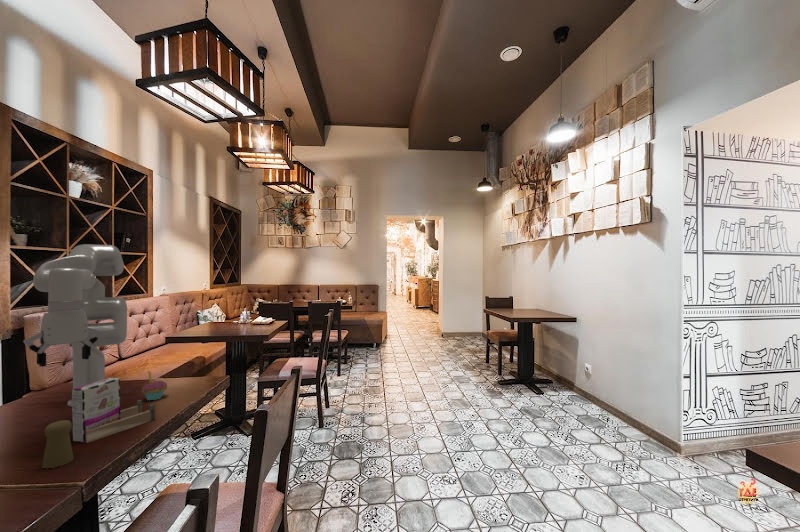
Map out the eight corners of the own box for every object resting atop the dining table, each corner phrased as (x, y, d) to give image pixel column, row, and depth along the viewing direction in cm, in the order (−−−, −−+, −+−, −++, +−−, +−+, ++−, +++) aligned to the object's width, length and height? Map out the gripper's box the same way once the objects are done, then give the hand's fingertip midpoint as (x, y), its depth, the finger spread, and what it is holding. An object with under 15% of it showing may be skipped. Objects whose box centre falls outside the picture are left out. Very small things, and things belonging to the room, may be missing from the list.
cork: (56, 457, 92) (57, 418, 93) (79, 455, 93) (80, 416, 93) (34, 470, 86) (35, 428, 87) (59, 468, 87) (59, 426, 87)
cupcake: (146, 404, 130) (146, 374, 130) (137, 400, 134) (137, 371, 135) (171, 397, 137) (171, 368, 137) (161, 393, 142) (161, 365, 142)
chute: (74, 435, 105) (74, 419, 105) (140, 413, 121) (140, 399, 121) (87, 443, 100) (87, 426, 100) (154, 419, 116) (154, 404, 116)
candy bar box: (109, 425, 112) (109, 377, 112) (121, 426, 111) (121, 377, 111) (70, 441, 101) (70, 388, 101) (83, 443, 100) (83, 389, 100)
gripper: (96, 305, 112) (95, 355, 111) (20, 309, 97) (19, 368, 96) (105, 305, 108) (105, 357, 107) (28, 309, 93) (27, 370, 92)
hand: (64, 362), depth 102 cm, fingers open, 9 cm apart
